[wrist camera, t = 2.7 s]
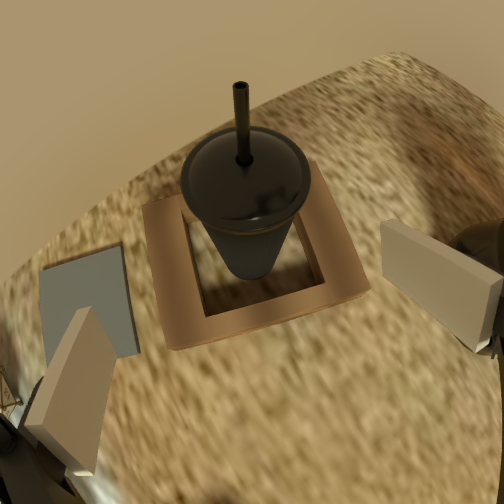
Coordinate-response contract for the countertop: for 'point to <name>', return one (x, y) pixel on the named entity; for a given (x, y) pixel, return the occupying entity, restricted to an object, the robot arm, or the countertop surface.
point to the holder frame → (260, 314)
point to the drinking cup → (246, 190)
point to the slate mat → (88, 300)
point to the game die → (6, 397)
